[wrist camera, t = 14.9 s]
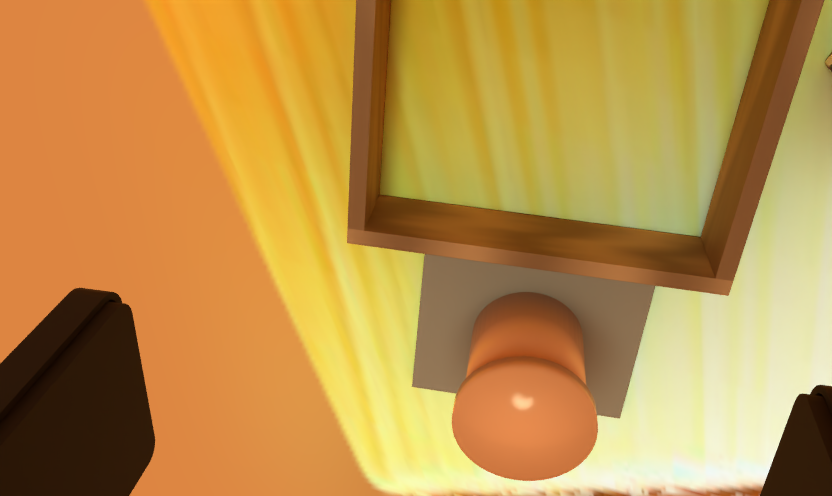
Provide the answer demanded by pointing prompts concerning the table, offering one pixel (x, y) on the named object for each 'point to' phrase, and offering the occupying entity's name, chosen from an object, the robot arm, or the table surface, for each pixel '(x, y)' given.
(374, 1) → the frame
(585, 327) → the mat
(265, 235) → the table surface
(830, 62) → the candy box
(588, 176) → the table surface
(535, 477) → the terracotta pot
